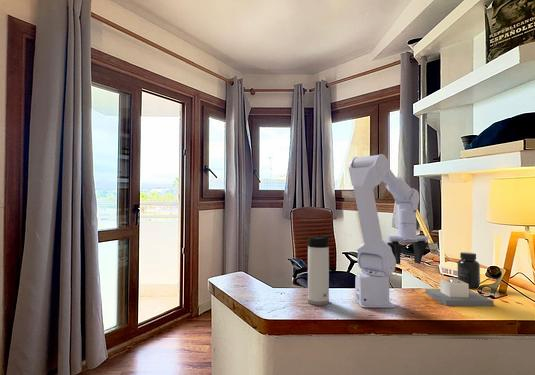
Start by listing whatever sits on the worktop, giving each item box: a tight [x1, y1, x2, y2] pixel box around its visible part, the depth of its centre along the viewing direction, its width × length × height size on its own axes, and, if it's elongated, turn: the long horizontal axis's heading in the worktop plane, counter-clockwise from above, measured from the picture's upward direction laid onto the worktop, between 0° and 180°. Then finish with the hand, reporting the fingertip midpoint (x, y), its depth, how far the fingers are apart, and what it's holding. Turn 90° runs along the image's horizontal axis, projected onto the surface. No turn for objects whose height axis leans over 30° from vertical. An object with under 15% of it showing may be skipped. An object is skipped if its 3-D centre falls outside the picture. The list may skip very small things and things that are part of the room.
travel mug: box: [307, 234, 331, 306], centre depth 96 cm, size 6×7×20 cm
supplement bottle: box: [457, 251, 481, 290], centre depth 114 cm, size 7×7×12 cm
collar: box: [439, 278, 470, 297], centre depth 99 cm, size 6×6×4 cm
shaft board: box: [424, 277, 494, 307], centre depth 99 cm, size 14×12×6 cm
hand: (407, 263), depth 108 cm, fingers open, 7 cm apart
